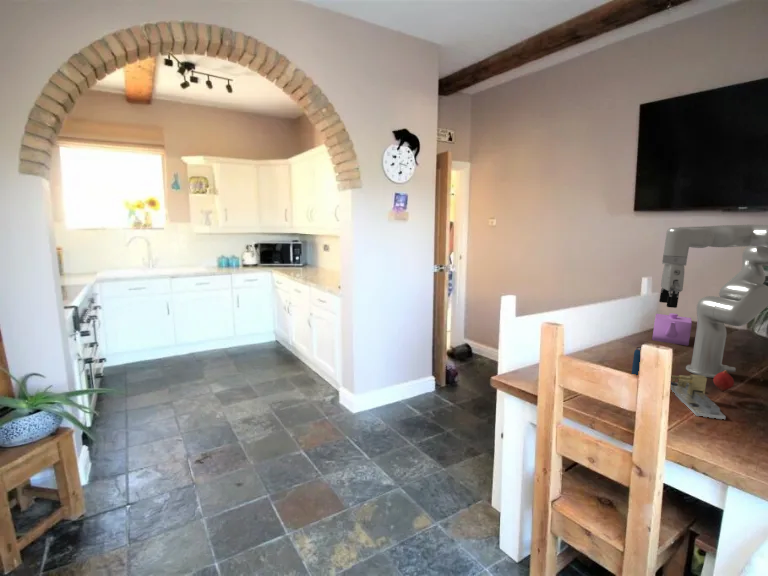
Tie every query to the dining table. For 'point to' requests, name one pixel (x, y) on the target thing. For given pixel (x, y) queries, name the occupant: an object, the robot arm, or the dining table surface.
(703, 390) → the sliding jaw
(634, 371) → the soda can
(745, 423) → the dining table surface
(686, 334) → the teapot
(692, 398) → the board
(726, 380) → the onion
